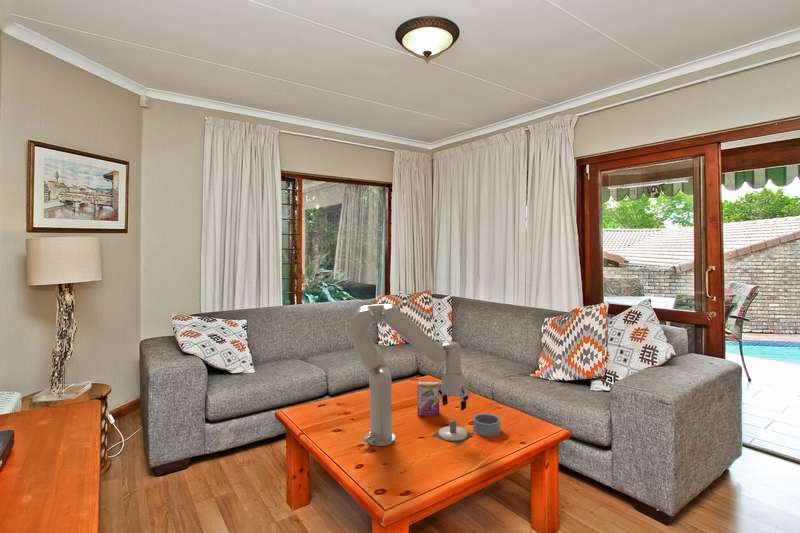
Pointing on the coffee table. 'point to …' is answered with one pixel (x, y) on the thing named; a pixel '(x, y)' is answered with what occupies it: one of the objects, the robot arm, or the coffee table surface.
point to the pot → (486, 425)
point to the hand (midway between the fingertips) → (454, 407)
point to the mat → (453, 441)
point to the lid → (453, 432)
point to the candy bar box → (428, 399)
